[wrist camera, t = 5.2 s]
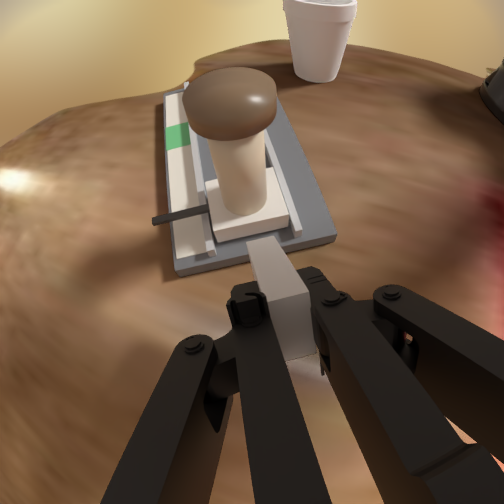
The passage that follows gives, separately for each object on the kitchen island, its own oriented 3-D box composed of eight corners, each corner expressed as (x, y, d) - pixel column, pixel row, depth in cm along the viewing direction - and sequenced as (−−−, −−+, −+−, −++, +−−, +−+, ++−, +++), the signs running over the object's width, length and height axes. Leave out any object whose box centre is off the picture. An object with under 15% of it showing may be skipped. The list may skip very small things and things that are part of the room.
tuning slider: (272, 180, 27) (269, 61, 16) (288, 227, 25) (296, 107, 14) (157, 207, 27) (99, 104, 16) (161, 257, 25) (87, 159, 13)
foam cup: (285, 56, 40) (284, -14, 28) (342, 61, 39) (350, -8, 27) (282, 85, 36) (281, 2, 25) (349, 92, 35) (362, 11, 24)
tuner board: (264, 80, 37) (263, 65, 35) (334, 241, 26) (340, 226, 24) (166, 101, 37) (161, 87, 34) (179, 276, 26) (170, 265, 23)
